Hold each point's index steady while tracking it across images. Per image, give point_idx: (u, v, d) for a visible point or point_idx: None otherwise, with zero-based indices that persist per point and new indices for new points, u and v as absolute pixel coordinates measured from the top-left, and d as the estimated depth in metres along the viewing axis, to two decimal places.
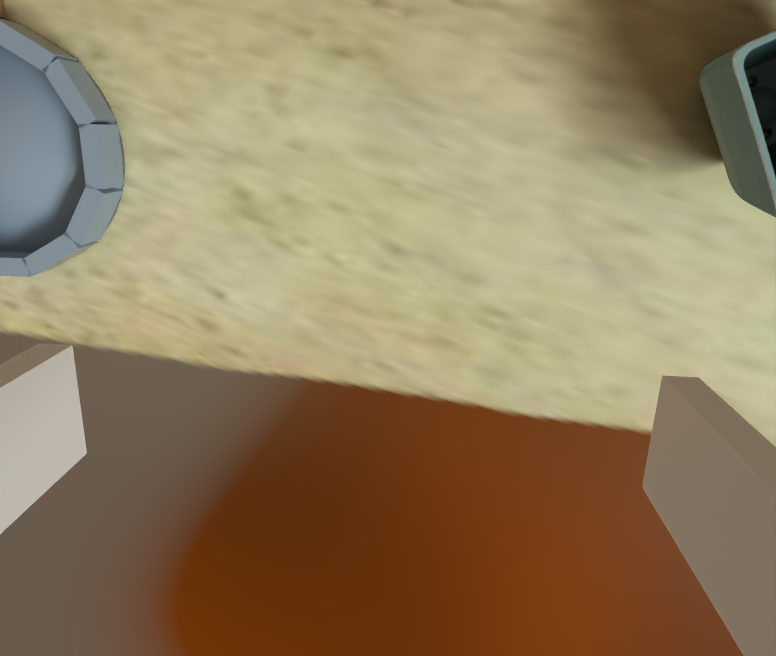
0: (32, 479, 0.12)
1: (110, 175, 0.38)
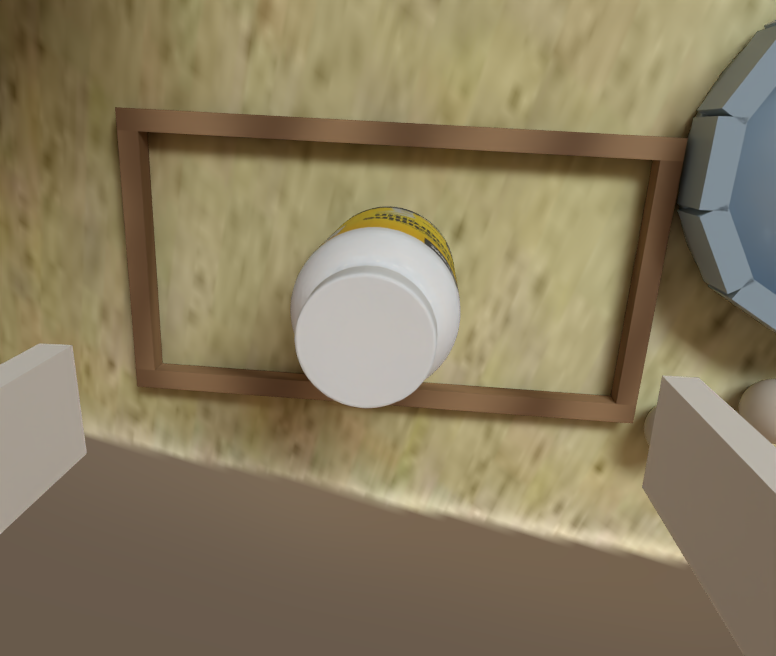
0: (32, 479, 0.12)
1: None
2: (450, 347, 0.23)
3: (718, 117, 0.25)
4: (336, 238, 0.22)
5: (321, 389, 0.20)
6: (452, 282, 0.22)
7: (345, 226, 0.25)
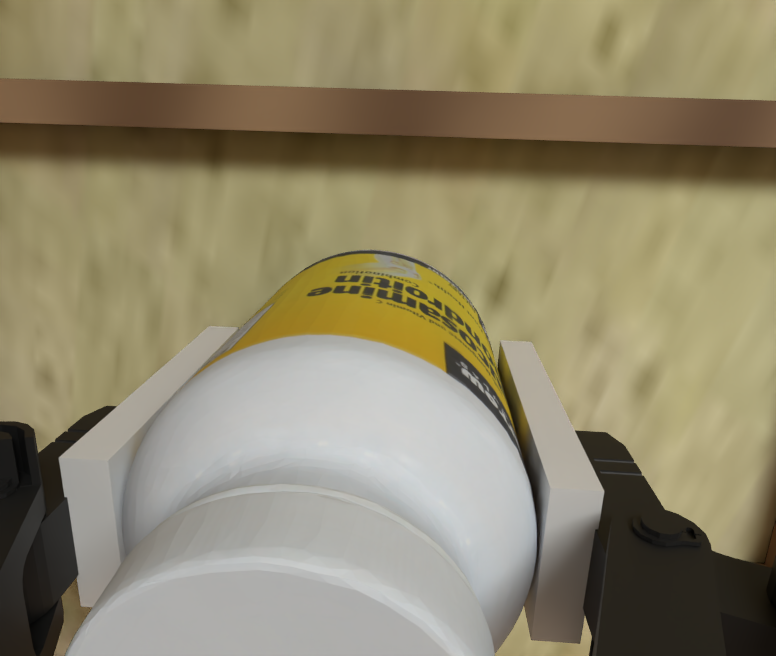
0: None
1: None
2: (514, 624, 0.09)
3: None
4: (220, 369, 0.09)
5: None
6: (520, 473, 0.09)
7: (268, 311, 0.11)
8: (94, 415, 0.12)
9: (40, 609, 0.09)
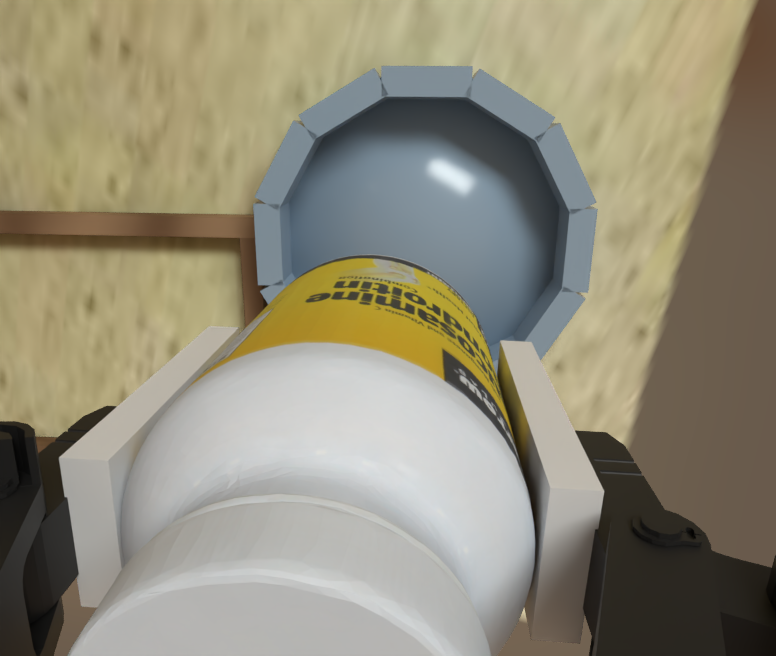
0: None
1: None
2: (512, 631, 0.09)
3: (253, 205, 0.28)
4: (219, 377, 0.09)
5: None
6: (518, 481, 0.09)
7: (267, 317, 0.11)
8: (94, 415, 0.12)
9: (40, 609, 0.09)
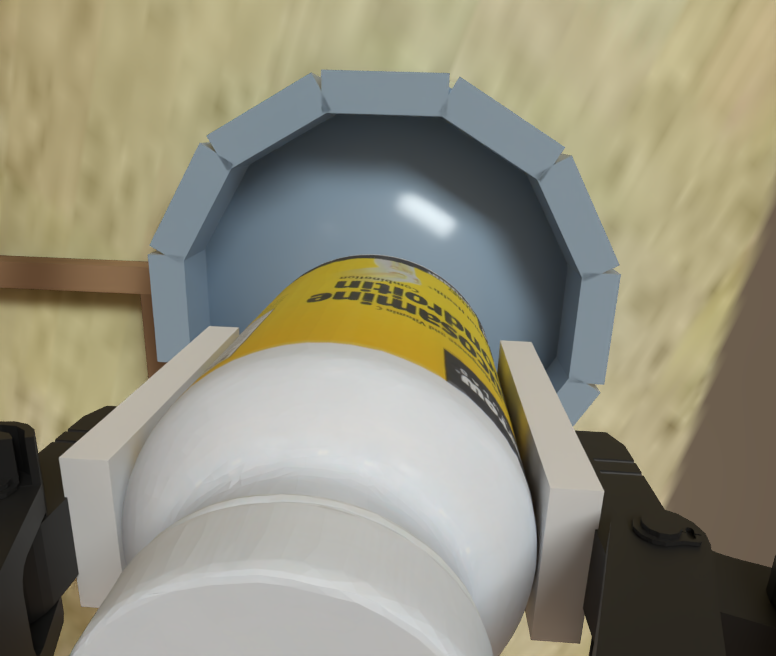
0: None
1: None
2: None
3: (148, 256, 0.20)
4: (220, 377, 0.09)
5: None
6: (520, 481, 0.09)
7: (268, 317, 0.11)
8: (94, 415, 0.12)
9: (41, 609, 0.09)
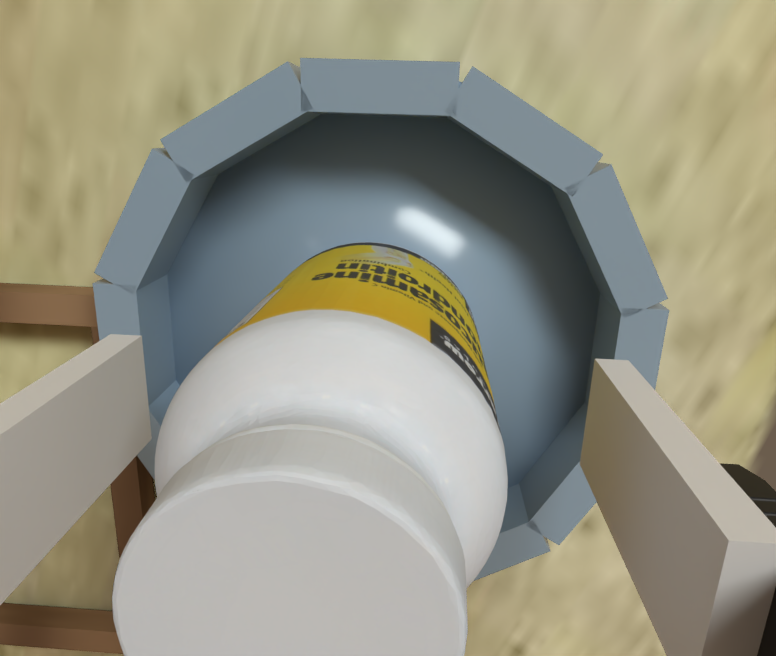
0: (110, 461, 0.13)
1: None
2: (488, 557, 0.11)
3: (93, 285, 0.17)
4: (239, 338, 0.10)
5: None
6: (492, 427, 0.10)
7: (278, 293, 0.13)
8: None
9: None
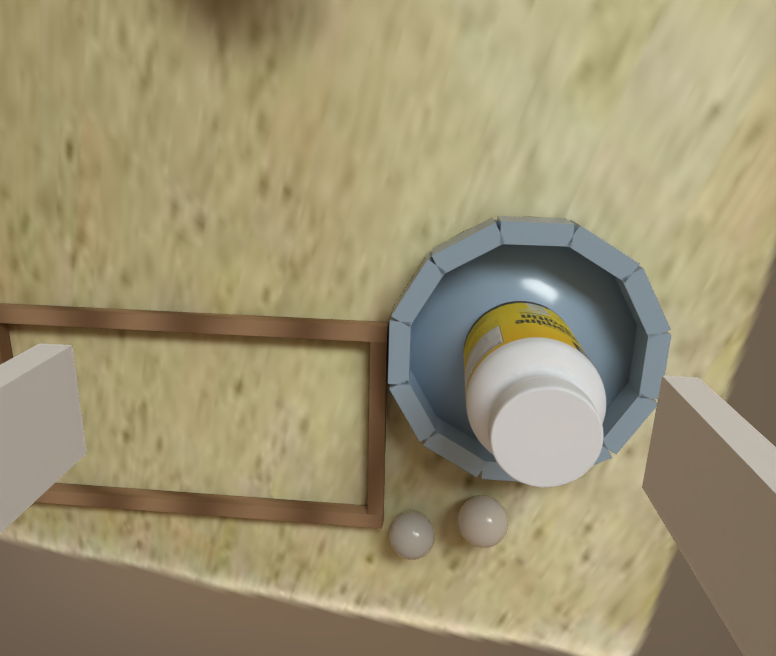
0: (32, 479, 0.12)
1: (557, 221, 0.33)
2: None
3: None
4: (508, 348, 0.28)
5: (509, 473, 0.26)
6: (601, 381, 0.28)
7: (501, 328, 0.31)
8: None
9: None
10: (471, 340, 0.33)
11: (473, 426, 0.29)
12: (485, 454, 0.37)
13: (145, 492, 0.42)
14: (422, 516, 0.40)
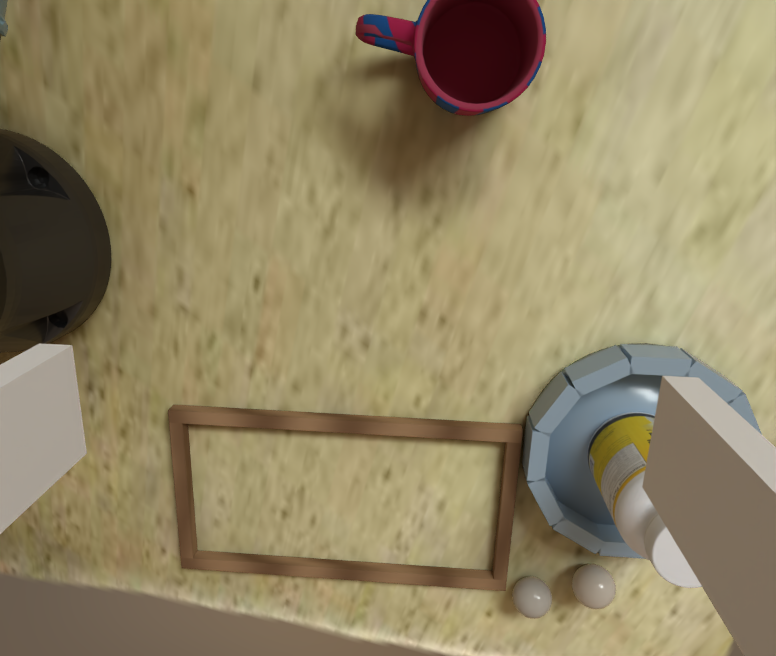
0: (32, 479, 0.12)
1: (674, 354, 0.40)
2: None
3: (532, 432, 0.42)
4: None
5: (664, 577, 0.33)
6: None
7: (637, 447, 0.38)
8: None
9: None
10: (603, 449, 0.41)
11: (623, 531, 0.36)
12: (601, 534, 0.45)
13: (298, 560, 0.49)
14: (541, 581, 0.47)
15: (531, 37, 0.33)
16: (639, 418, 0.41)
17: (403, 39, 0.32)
